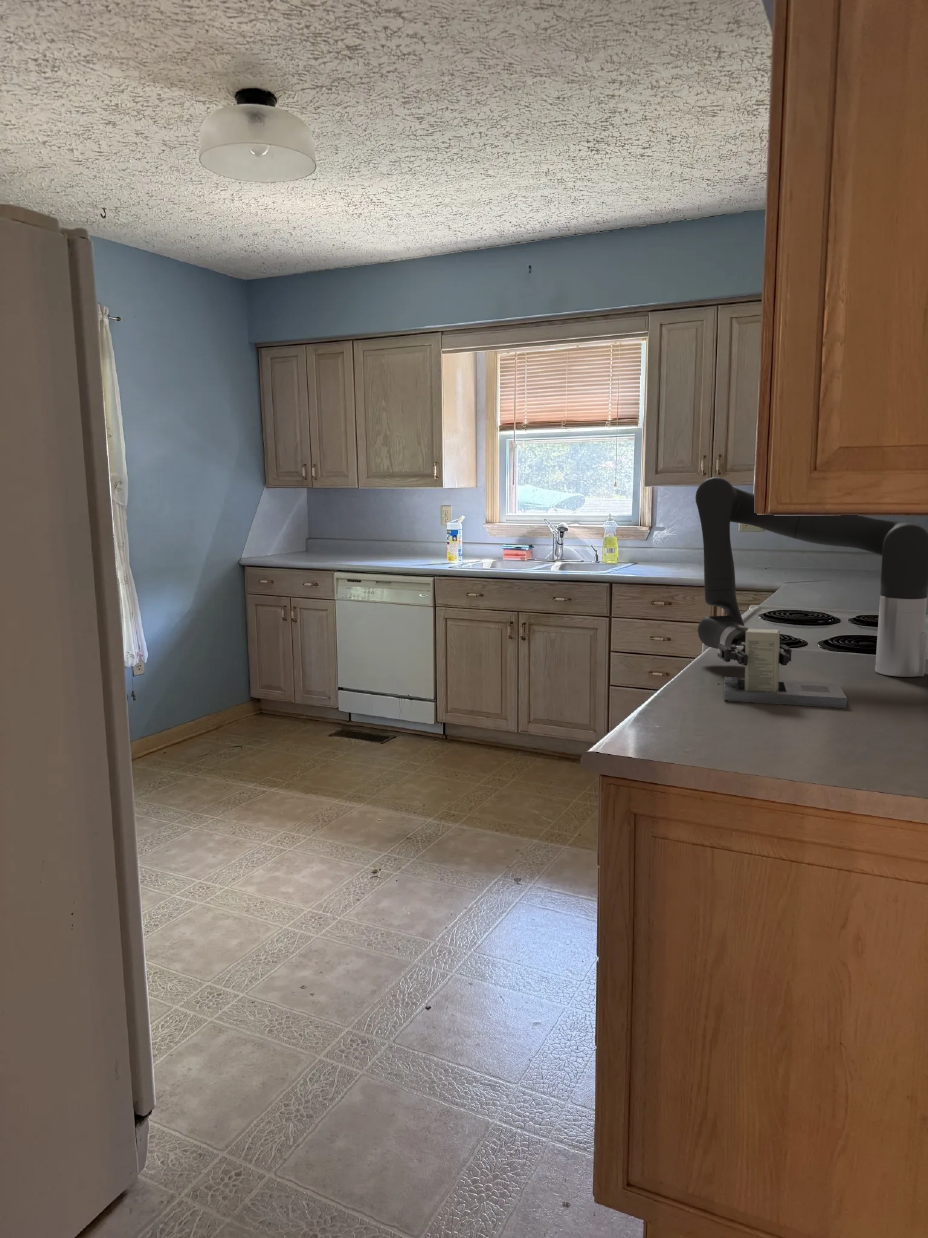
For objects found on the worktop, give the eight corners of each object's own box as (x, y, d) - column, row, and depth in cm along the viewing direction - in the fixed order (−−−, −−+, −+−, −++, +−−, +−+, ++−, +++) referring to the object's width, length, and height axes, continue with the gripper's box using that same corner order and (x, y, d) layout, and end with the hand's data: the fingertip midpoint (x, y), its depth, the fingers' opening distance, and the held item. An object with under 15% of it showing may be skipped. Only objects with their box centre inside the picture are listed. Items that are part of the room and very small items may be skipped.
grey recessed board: (837, 692, 171) (838, 682, 171) (846, 708, 159) (846, 698, 158) (724, 686, 177) (724, 676, 177) (724, 701, 165) (724, 691, 165)
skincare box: (778, 688, 170) (781, 629, 168) (776, 693, 166) (779, 633, 164) (745, 685, 172) (748, 627, 170) (742, 690, 168) (745, 630, 166)
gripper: (708, 627, 182) (729, 642, 165) (776, 626, 181) (803, 641, 165) (707, 661, 183) (728, 679, 167) (774, 660, 182) (801, 678, 166)
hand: (765, 660), depth 166 cm, fingers closed on skincare box, 7 cm apart
